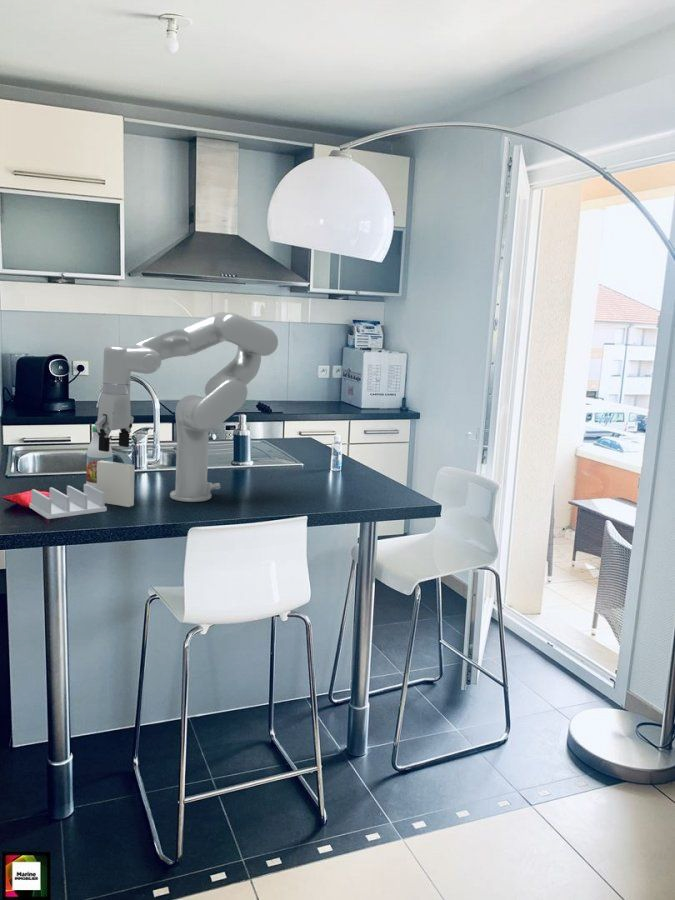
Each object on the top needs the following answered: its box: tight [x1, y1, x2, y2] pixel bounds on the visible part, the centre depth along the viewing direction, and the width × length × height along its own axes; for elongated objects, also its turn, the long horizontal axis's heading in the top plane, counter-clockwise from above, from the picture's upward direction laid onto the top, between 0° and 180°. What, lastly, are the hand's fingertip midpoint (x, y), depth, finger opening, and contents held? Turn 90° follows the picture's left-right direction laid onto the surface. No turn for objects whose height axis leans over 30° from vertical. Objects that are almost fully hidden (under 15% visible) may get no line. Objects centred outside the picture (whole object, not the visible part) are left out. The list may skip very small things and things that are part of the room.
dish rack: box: [28, 483, 108, 520], centre depth 208 cm, size 17×13×5 cm
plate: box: [97, 460, 136, 508], centre depth 217 cm, size 2×11×12 cm, turn 72°
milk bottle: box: [85, 425, 114, 489], centre depth 230 cm, size 8×8×20 cm
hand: (114, 448), depth 214 cm, fingers open, 9 cm apart
